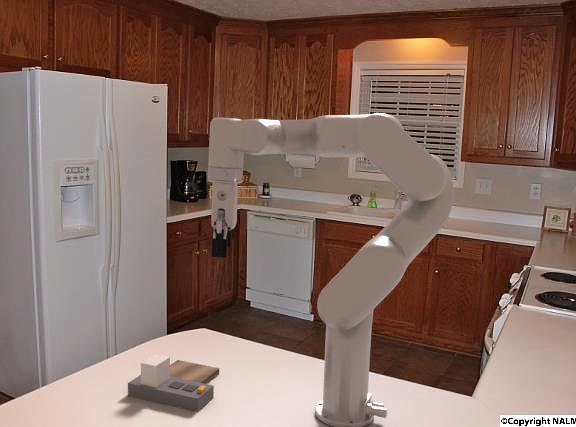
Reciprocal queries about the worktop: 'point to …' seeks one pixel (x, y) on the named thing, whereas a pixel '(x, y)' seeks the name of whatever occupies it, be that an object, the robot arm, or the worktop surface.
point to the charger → (155, 370)
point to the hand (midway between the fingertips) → (221, 251)
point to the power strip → (174, 393)
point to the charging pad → (193, 371)
